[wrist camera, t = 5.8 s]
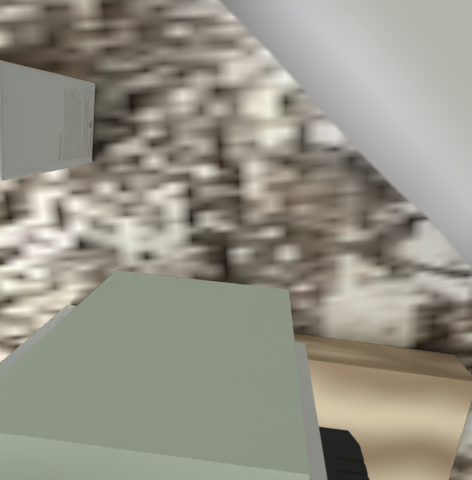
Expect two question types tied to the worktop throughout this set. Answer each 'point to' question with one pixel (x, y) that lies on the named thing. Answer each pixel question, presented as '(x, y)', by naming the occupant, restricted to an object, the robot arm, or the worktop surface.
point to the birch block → (392, 404)
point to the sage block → (159, 387)
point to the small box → (43, 121)
